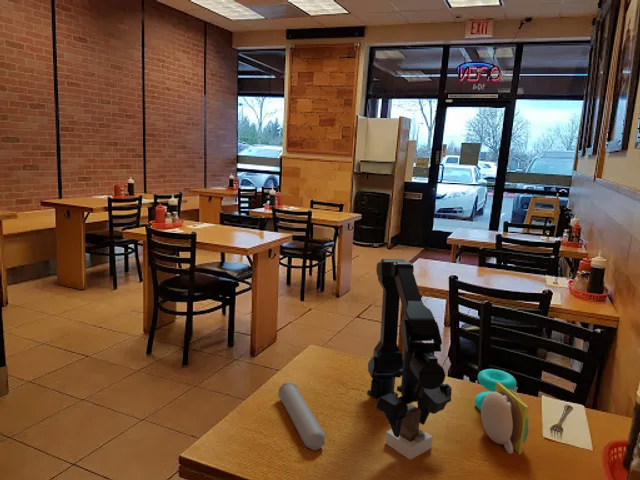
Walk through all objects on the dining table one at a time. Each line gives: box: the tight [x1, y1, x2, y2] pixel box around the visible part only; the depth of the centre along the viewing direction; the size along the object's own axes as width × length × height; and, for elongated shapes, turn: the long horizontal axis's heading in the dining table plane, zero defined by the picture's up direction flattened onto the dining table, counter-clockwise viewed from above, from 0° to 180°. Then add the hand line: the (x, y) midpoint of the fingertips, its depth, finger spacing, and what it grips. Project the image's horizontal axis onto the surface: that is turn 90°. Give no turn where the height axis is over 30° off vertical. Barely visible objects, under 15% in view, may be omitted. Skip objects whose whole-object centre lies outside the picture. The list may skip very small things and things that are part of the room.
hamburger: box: [480, 382, 530, 455], centre depth 116 cm, size 12×8×12 cm
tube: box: [277, 381, 326, 451], centre depth 120 cm, size 5×5×25 cm
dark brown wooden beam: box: [400, 403, 421, 442], centre depth 112 cm, size 3×3×9 cm
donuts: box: [474, 368, 517, 411], centre depth 131 cm, size 10×10×10 cm
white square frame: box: [385, 428, 433, 461], centre depth 112 cm, size 8×8×4 cm
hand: (409, 430), depth 112 cm, fingers open, 9 cm apart
